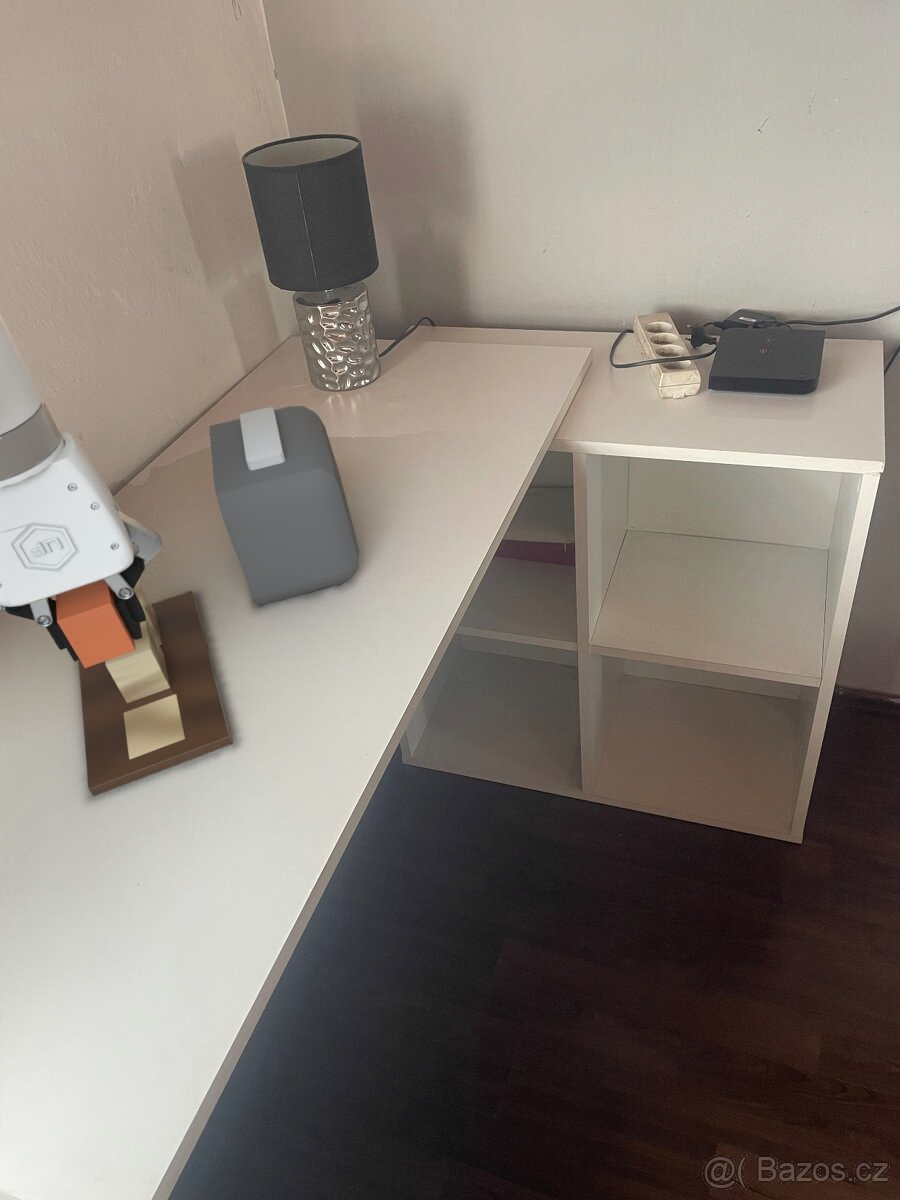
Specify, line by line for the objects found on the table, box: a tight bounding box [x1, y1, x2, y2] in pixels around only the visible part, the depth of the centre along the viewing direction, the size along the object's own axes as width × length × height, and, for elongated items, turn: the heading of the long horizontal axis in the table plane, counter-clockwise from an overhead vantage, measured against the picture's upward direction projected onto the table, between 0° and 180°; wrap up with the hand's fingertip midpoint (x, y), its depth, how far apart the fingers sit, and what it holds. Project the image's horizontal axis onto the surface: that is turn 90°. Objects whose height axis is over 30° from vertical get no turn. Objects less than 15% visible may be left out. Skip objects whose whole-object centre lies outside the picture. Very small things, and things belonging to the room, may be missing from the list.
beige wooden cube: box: [133, 579, 162, 645], centre depth 84 cm, size 5×4×5 cm
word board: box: [78, 590, 233, 797], centre depth 81 cm, size 22×12×1 cm, turn 21°
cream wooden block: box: [105, 619, 170, 703], centre depth 79 cm, size 5×4×5 cm
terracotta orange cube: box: [55, 579, 136, 668], centre depth 68 cm, size 5×4×5 cm
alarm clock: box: [209, 405, 360, 607], centre depth 88 cm, size 16×11×16 cm
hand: (106, 637), depth 69 cm, fingers closed on terracotta orange cube, 4 cm apart
